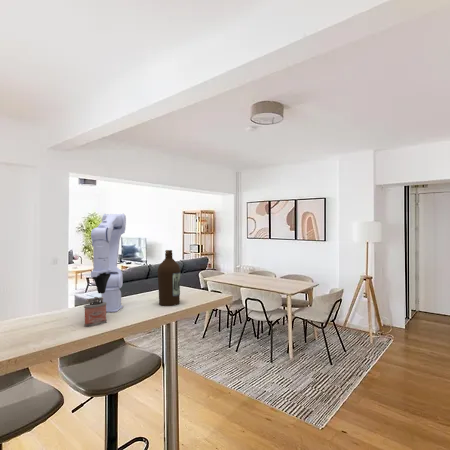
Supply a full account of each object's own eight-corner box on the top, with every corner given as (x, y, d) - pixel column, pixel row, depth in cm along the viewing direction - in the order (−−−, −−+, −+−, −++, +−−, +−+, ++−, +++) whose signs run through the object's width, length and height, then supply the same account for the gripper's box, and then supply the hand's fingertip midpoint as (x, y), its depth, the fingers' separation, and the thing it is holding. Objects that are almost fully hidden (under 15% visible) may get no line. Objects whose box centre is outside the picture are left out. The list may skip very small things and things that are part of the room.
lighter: (104, 320, 122) (104, 294, 122) (108, 322, 120) (107, 296, 120) (82, 325, 116) (82, 298, 116) (86, 327, 114) (86, 299, 114)
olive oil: (153, 305, 145) (152, 251, 145) (165, 300, 155) (164, 249, 155) (174, 307, 142) (173, 251, 142) (184, 301, 152) (184, 249, 152)
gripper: (104, 259, 117) (104, 296, 116) (117, 256, 131) (118, 289, 131) (85, 259, 117) (85, 296, 116) (100, 256, 131) (101, 289, 131)
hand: (101, 293), depth 124 cm, fingers closed
